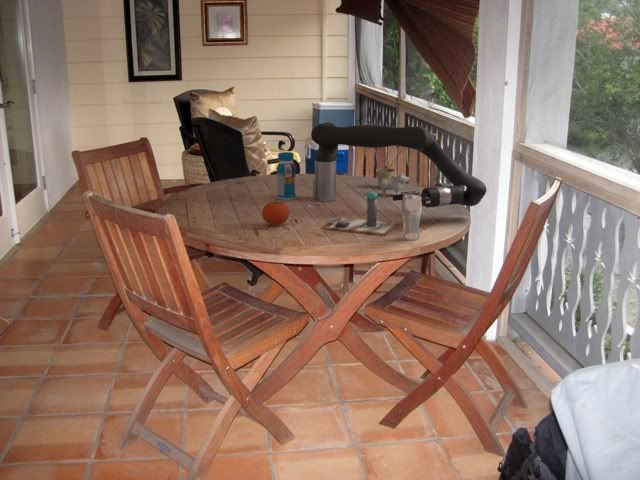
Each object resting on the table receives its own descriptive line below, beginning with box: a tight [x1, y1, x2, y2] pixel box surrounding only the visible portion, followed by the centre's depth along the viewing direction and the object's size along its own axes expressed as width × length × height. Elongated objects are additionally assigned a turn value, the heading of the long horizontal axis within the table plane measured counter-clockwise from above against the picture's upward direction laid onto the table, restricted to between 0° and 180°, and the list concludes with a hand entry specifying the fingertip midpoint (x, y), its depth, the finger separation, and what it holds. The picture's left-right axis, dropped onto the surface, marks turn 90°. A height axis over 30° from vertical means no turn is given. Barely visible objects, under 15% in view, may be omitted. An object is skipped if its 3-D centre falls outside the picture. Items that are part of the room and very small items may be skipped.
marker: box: [366, 191, 378, 227], centre depth 250 cm, size 4×4×12 cm
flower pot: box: [375, 168, 397, 190], centre depth 318 cm, size 9×9×9 cm
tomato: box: [261, 199, 290, 226], centre depth 255 cm, size 10×10×10 cm
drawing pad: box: [322, 216, 399, 237], centre depth 253 cm, size 24×17×3 cm
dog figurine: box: [380, 172, 410, 197], centre depth 302 cm, size 5×13×11 cm, turn 74°
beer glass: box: [401, 195, 423, 241], centre depth 236 cm, size 7×7×15 cm
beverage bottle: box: [275, 151, 297, 201], centre depth 297 cm, size 8×8×20 cm
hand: (397, 200), depth 252 cm, fingers open, 8 cm apart
